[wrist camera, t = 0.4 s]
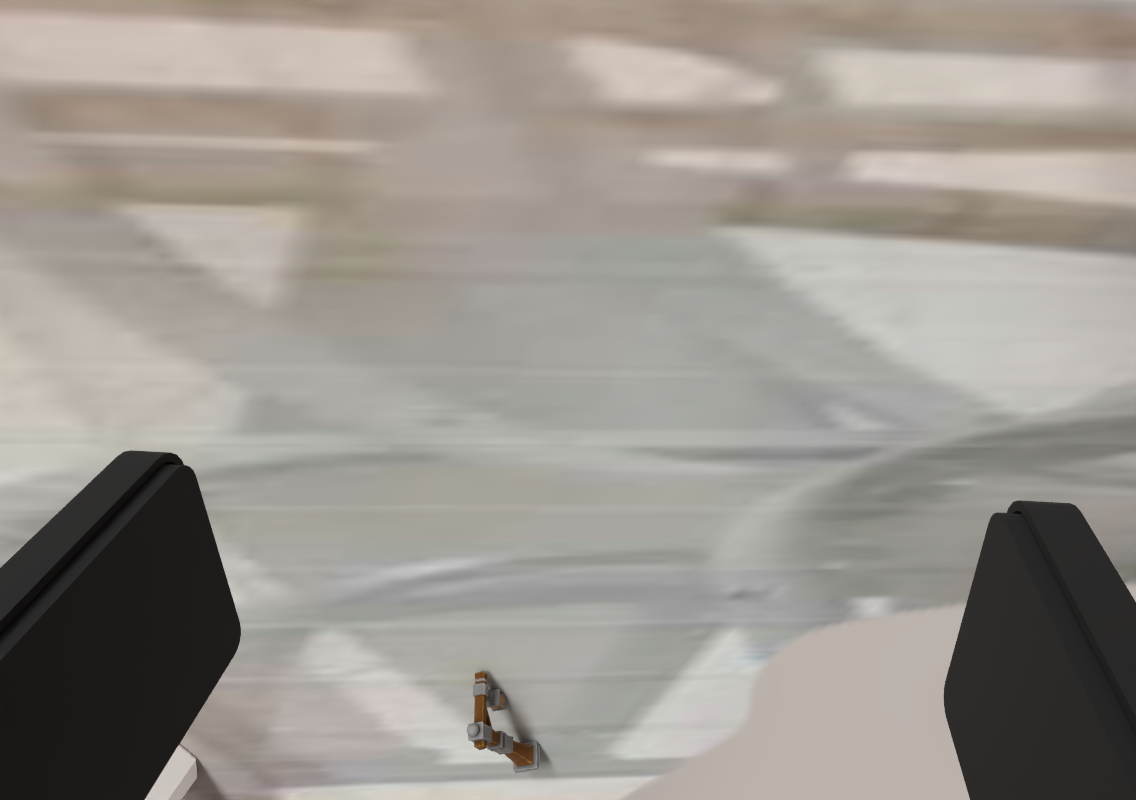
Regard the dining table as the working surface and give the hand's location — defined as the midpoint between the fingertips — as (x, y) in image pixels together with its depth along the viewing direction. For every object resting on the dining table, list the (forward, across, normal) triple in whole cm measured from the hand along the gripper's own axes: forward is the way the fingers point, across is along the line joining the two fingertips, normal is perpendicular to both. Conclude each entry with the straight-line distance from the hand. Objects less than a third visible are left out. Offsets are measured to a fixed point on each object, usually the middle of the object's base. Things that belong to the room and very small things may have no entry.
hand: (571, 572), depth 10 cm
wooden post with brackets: (+30, +10, +39) cm, 50 cm away
